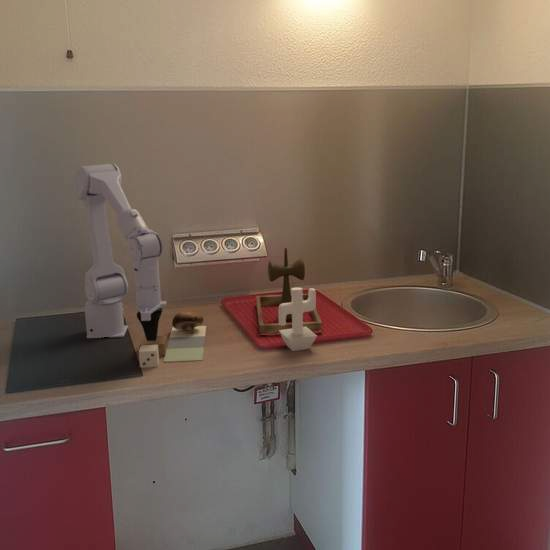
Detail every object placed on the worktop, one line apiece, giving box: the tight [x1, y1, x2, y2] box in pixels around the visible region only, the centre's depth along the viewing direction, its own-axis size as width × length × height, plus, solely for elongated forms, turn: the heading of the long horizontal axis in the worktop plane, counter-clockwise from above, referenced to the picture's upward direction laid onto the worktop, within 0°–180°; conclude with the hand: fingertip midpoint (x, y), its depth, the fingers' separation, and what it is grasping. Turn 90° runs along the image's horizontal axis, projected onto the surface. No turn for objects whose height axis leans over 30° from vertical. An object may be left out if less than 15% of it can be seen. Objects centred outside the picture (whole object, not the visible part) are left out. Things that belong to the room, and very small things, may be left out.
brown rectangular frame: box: [255, 293, 323, 335], centre depth 189 cm, size 16×26×3 cm, turn 3°
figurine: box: [277, 287, 318, 352], centre depth 166 cm, size 7×9×15 cm
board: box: [163, 325, 207, 363], centre depth 172 cm, size 9×24×1 cm, turn 3°
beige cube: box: [138, 345, 160, 368], centre depth 160 cm, size 4×4×4 cm
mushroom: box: [171, 310, 204, 333], centre depth 179 cm, size 8×8×6 cm
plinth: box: [138, 335, 168, 357], centre depth 167 cm, size 6×6×3 cm
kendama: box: [267, 247, 306, 321], centre depth 187 cm, size 6×10×20 cm, turn 100°
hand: (151, 339), depth 164 cm, fingers closed
